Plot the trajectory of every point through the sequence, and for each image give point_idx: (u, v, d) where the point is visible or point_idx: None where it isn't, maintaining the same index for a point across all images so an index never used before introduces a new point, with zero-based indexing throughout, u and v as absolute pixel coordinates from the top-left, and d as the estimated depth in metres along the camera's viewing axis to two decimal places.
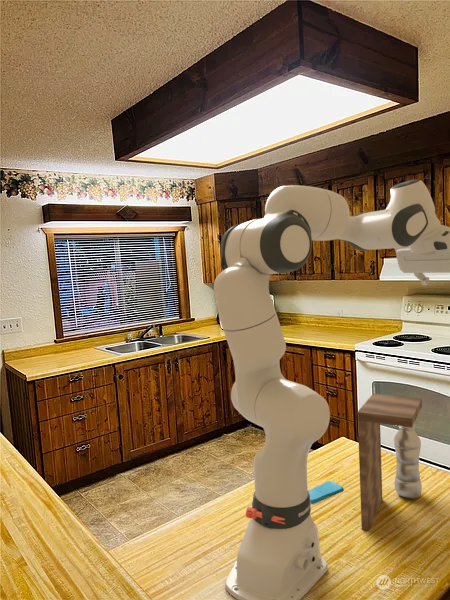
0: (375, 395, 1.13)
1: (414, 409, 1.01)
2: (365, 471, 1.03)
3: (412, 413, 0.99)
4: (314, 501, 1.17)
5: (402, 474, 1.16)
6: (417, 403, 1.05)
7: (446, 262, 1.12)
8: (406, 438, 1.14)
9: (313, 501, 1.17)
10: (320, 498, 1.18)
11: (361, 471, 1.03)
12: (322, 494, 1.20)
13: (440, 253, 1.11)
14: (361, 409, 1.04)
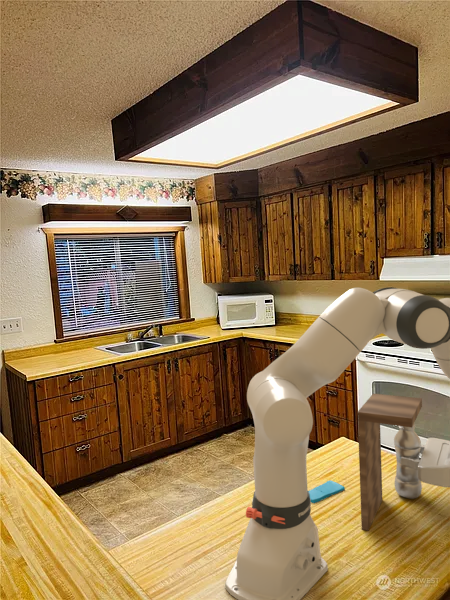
0: (375, 395, 1.13)
1: (414, 409, 1.01)
2: (365, 471, 1.03)
3: (412, 413, 0.99)
4: (315, 501, 1.17)
5: (402, 474, 1.16)
6: (417, 403, 1.05)
7: (434, 460, 1.09)
8: (406, 438, 1.14)
9: (314, 501, 1.17)
10: (321, 498, 1.18)
11: (361, 471, 1.03)
12: (323, 494, 1.20)
13: (447, 459, 1.08)
14: (361, 409, 1.04)
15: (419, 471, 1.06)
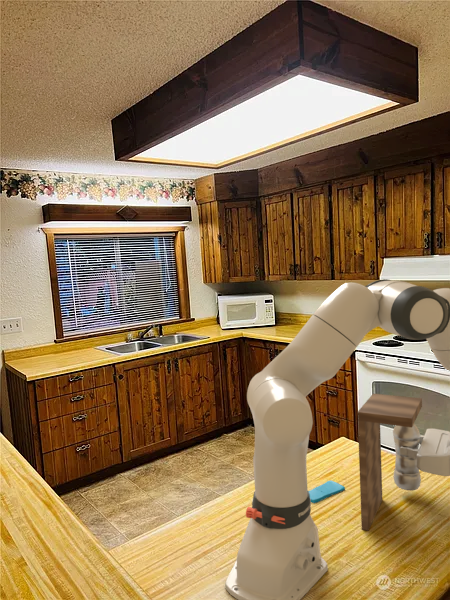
0: (375, 395, 1.13)
1: (414, 409, 1.01)
2: (365, 471, 1.03)
3: (412, 413, 0.99)
4: (316, 501, 1.17)
5: (401, 466, 1.15)
6: (417, 403, 1.05)
7: (433, 449, 1.09)
8: (405, 429, 1.14)
9: (315, 501, 1.17)
10: (322, 498, 1.18)
11: (361, 471, 1.03)
12: (323, 494, 1.20)
13: (446, 449, 1.08)
14: (361, 409, 1.04)
15: (418, 460, 1.06)
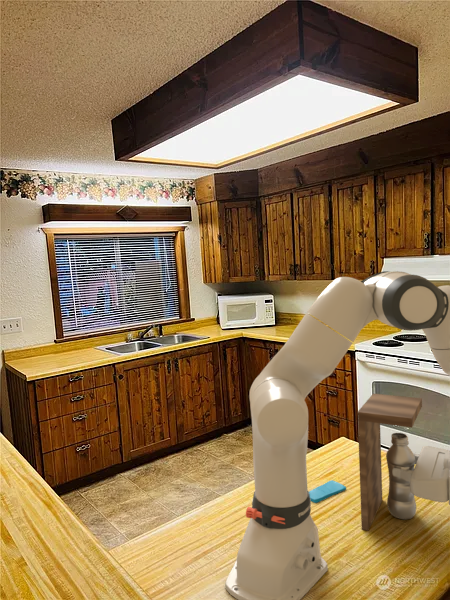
0: (375, 395, 1.13)
1: (414, 409, 1.01)
2: (365, 471, 1.03)
3: (412, 413, 0.99)
4: (317, 501, 1.17)
5: (394, 492, 1.07)
6: (417, 403, 1.05)
7: (428, 472, 1.00)
8: (398, 454, 1.06)
9: (316, 501, 1.17)
10: (323, 498, 1.18)
11: (361, 471, 1.03)
12: (324, 493, 1.20)
13: (443, 471, 0.99)
14: (361, 409, 1.04)
15: (412, 484, 0.97)
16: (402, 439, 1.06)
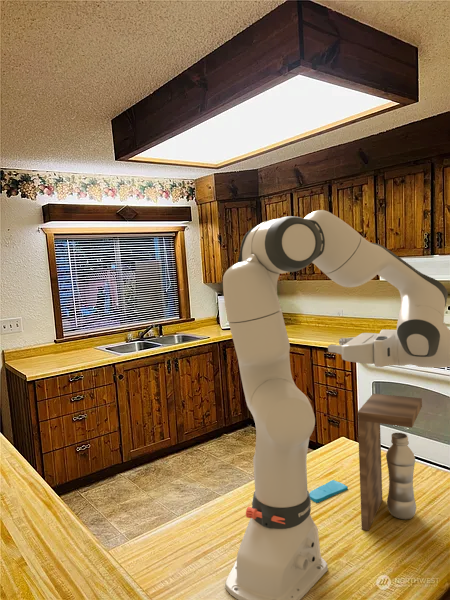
0: (375, 395, 1.13)
1: (414, 409, 1.01)
2: (365, 471, 1.03)
3: (412, 413, 0.99)
4: (319, 500, 1.17)
5: (394, 492, 1.07)
6: (417, 403, 1.05)
7: (359, 342, 1.12)
8: (398, 454, 1.06)
9: (318, 500, 1.17)
10: (325, 497, 1.18)
11: (361, 471, 1.03)
12: (326, 493, 1.20)
13: None
14: (361, 409, 1.04)
15: (342, 350, 1.09)
16: (402, 439, 1.06)
